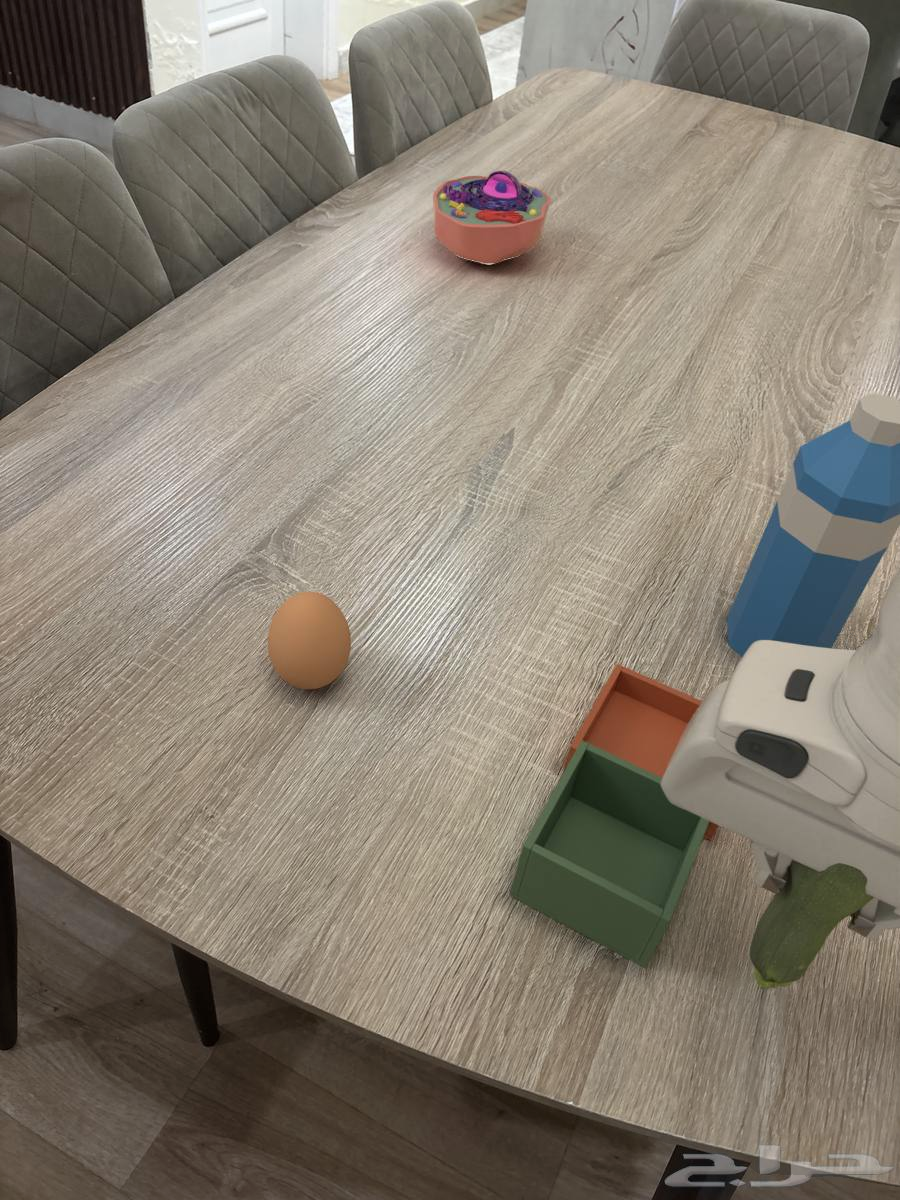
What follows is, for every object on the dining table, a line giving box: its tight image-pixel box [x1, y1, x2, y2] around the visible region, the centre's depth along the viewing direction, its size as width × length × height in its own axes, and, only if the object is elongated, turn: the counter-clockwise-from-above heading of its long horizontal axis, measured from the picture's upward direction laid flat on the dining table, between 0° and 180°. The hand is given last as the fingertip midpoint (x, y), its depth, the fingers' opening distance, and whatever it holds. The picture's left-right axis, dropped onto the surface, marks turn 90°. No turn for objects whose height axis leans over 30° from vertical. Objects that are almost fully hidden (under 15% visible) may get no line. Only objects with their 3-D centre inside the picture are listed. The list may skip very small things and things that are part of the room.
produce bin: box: [508, 740, 709, 969], centre depth 65 cm, size 10×10×6 cm
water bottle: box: [726, 393, 900, 658], centre depth 78 cm, size 9×9×25 cm
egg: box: [267, 591, 352, 690], centre depth 75 cm, size 7×7×9 cm
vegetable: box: [749, 860, 874, 990], centre depth 52 cm, size 4×4×20 cm
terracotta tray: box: [563, 663, 720, 841], centre depth 75 cm, size 12×10×3 cm
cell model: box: [432, 170, 552, 264], centre depth 137 cm, size 17×20×11 cm
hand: (813, 901), depth 53 cm, fingers closed on vegetable, 4 cm apart
